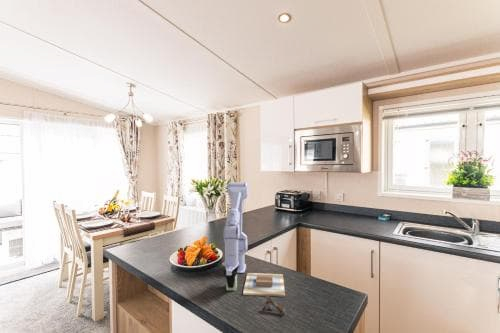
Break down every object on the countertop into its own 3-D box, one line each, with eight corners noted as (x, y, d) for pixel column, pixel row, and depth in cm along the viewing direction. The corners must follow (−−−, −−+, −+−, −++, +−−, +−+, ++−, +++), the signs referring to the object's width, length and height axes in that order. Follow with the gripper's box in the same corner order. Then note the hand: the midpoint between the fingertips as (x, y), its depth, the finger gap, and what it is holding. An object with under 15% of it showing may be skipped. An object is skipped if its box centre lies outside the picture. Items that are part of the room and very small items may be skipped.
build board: (247, 274, 116) (247, 268, 116) (282, 276, 114) (282, 269, 114) (243, 294, 98) (243, 287, 98) (285, 296, 96) (285, 289, 96)
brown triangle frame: (264, 302, 91) (268, 293, 90) (281, 318, 86) (286, 309, 85) (261, 305, 89) (265, 295, 88) (278, 321, 85) (283, 311, 84)
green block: (227, 285, 106) (227, 274, 105) (236, 285, 105) (236, 274, 105) (226, 290, 102) (226, 278, 101) (235, 290, 101) (235, 278, 101)
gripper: (225, 247, 111) (225, 276, 111) (218, 259, 96) (218, 293, 96) (240, 247, 110) (240, 276, 110) (236, 260, 96) (236, 293, 96)
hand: (231, 284), depth 103 cm, fingers open, 4 cm apart
